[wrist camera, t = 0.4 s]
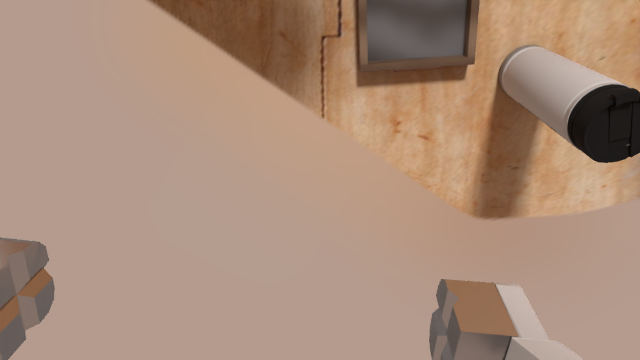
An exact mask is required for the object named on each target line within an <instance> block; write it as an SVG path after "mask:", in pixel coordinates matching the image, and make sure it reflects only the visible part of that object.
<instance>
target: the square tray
mask: <svg viewBox="0 0 640 360" xmlns="http://www.w3.org/2000/svg"><path fill="white" fill-rule="evenodd" d="M478 12H479V0H357V14H358V49H359V69H360V71H361V72H368V71H383V70H394V71H409V70H423V69H438V68H439V67H441V66H455V65H470V64H474V62H475V49H476V37H477V24H478Z"/></svg>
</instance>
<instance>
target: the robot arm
mask: <svg viewBox="0 0 640 360" xmlns="http://www.w3.org/2000/svg"><path fill="white" fill-rule="evenodd" d="M48 261H49V258H48V254H47V250H46V246H44V245H43V244H41V243H40V242H36V241H27V240H17V239H9V238H0V360H8V359H9V358H10V357H11V356H12V355H13V353H14V352H15V351H16V350H17V349H18V348H19V346H20V345H21V344H22V343H23V342H24V341H25V340H26V336H25V330H27V329H29V328H31V327H33V326H35V325H37V324H39V323H40V322H41V321H42V320H43V319H44V317H45V316H46V315H47V313H48V312H49V310H50V307H51V305H52V302H53V300H54V283H53V278H52V277H51V276H50V275H49V274H48V273H47V272H46V270H45V269H44V267H45V265H46V264H47V262H48ZM436 296H437V301H438V305H439V308H438V309H437V310H436V311H435V312H433V314H432V319H431V324H430V339H429V342H430V351H431V356H432V360H584V359H582V358H581V357H580V356H578V355H577V354H575V353H574V352H573V351H571V350H570V349H568V348H567V347H565V346H564V345H562V344H561V343H560V342H558V341H550V339H549V338H548V336H547V334H546V332H545V330H544V328H543V327H542V325H541V323H540V321H539V319H538V318H537V316H536V314H535V312H534V310H533V308H532V307H531V305H530V303H529V301H528V299H527V297H526V296H525V294H524V292H523V290H522V288H521V287H520V286H519V285H517V284H511V283H493V282H492V283H485V282H472V281H460V280H446V279H441V281H440V283H439V286H438V290H437V294H436Z"/></svg>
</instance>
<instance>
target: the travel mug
mask: <svg viewBox="0 0 640 360" xmlns="http://www.w3.org/2000/svg"><path fill="white" fill-rule="evenodd" d="M499 82H500V85H501V88H502V89H503V91H504V92H505V93H506V94H508V95H509V96H510V97H511V98H513V99H514V100H515V101H517V102H518V103H519V104H520V105H522V106H523V107H524V108H526V109H527V110H528V111H529V112H531V113H532V114H533V115H535V116H536V117H537V118H539V119H540V120H541V121H542V122H544V123H545V124H546V125H548V126H549V127H550V128H551V129H553V130H554V131H555V132H557V133H558V134H559V135H560V136H562V137H563V138H564V139H566V140H567V141H568V142H569V143H571V144H572V145H573V146H575V147H576V148H577V149H579V150H581V151H582V152H584V153H585V154H586V155H587V156H589V157H590V158H591V159H593V160H594V161H597V162H603V163H608V162H610V163H611V162H617V161H621V160H624V159H626V158H628V157H629V156H630V157H632V156H634V155H636V154H638V153H640V92H639V91H638V90H636V89H634V88H630V87H628V86H626V85H624V84H622V83H620V82H617V81H615V80H613V79H611V78H609V77H606V76H604V75H602V74H600V73H598V72H595V71H593V70H591V69H589V68H587V67H584V66H582V65H580V64H578V63H575V62H573V61H571V60H569V59H567V58H564V57H562V56H560V55H558V54H556V53H553V52H551V51H549V50H547V49H545V48H542V47H540V46H536V45H527V46H523V47H520V48H518V49H516V50H514V51H513V52H512V53H510V54H509V55H508V56H507V57H506V59H505V60H504V62H503V63H502V66H501V68H500V72H499Z"/></svg>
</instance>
